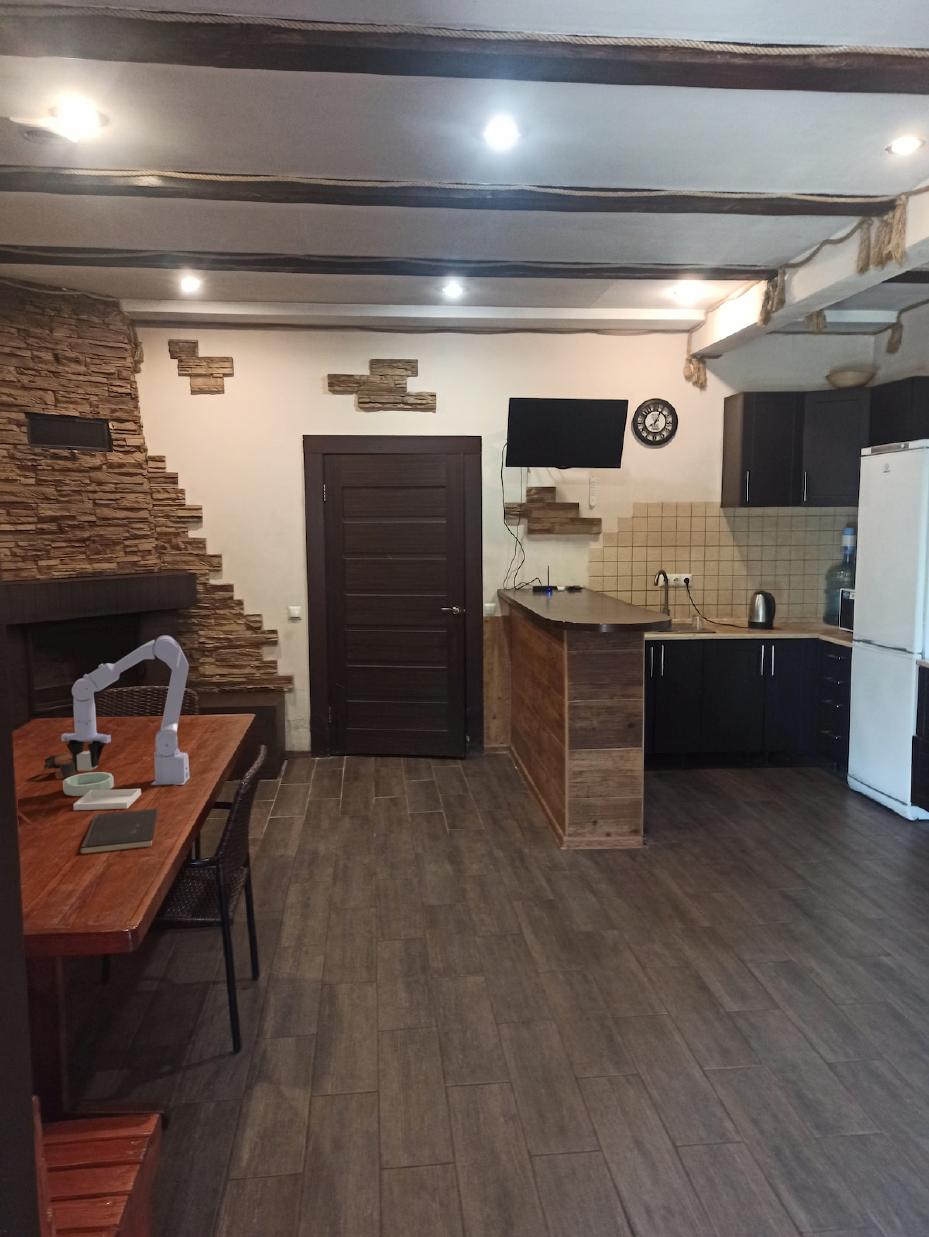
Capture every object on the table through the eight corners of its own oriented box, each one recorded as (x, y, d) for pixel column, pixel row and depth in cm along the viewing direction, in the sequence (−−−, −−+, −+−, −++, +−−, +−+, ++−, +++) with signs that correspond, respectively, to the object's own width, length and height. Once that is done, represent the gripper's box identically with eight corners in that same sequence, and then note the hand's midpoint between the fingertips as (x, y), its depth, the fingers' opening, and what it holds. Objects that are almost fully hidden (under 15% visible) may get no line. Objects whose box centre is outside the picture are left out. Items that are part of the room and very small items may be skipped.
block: (91, 770, 234) (90, 754, 234) (77, 770, 234) (76, 754, 234) (97, 766, 238) (96, 751, 238) (84, 766, 238) (83, 751, 238)
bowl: (119, 782, 244) (118, 771, 243) (103, 796, 231) (103, 784, 231) (74, 784, 243) (74, 772, 242) (56, 798, 230) (55, 786, 230)
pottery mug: (46, 783, 245) (38, 758, 247) (52, 788, 254) (44, 764, 256) (88, 768, 250) (80, 744, 252) (92, 774, 258) (84, 750, 260)
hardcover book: (159, 816, 216) (158, 808, 216) (152, 848, 194) (152, 839, 194) (93, 823, 212) (93, 814, 211) (80, 856, 190) (79, 847, 189)
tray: (141, 796, 231) (140, 788, 231) (127, 810, 219) (126, 802, 219) (90, 797, 230) (90, 790, 230) (73, 812, 218) (73, 804, 218)
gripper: (116, 717, 237) (118, 763, 239) (71, 716, 240) (73, 760, 241) (101, 723, 231) (104, 769, 232) (55, 721, 233) (58, 767, 234)
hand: (87, 765), depth 236 cm, fingers closed on block, 4 cm apart
